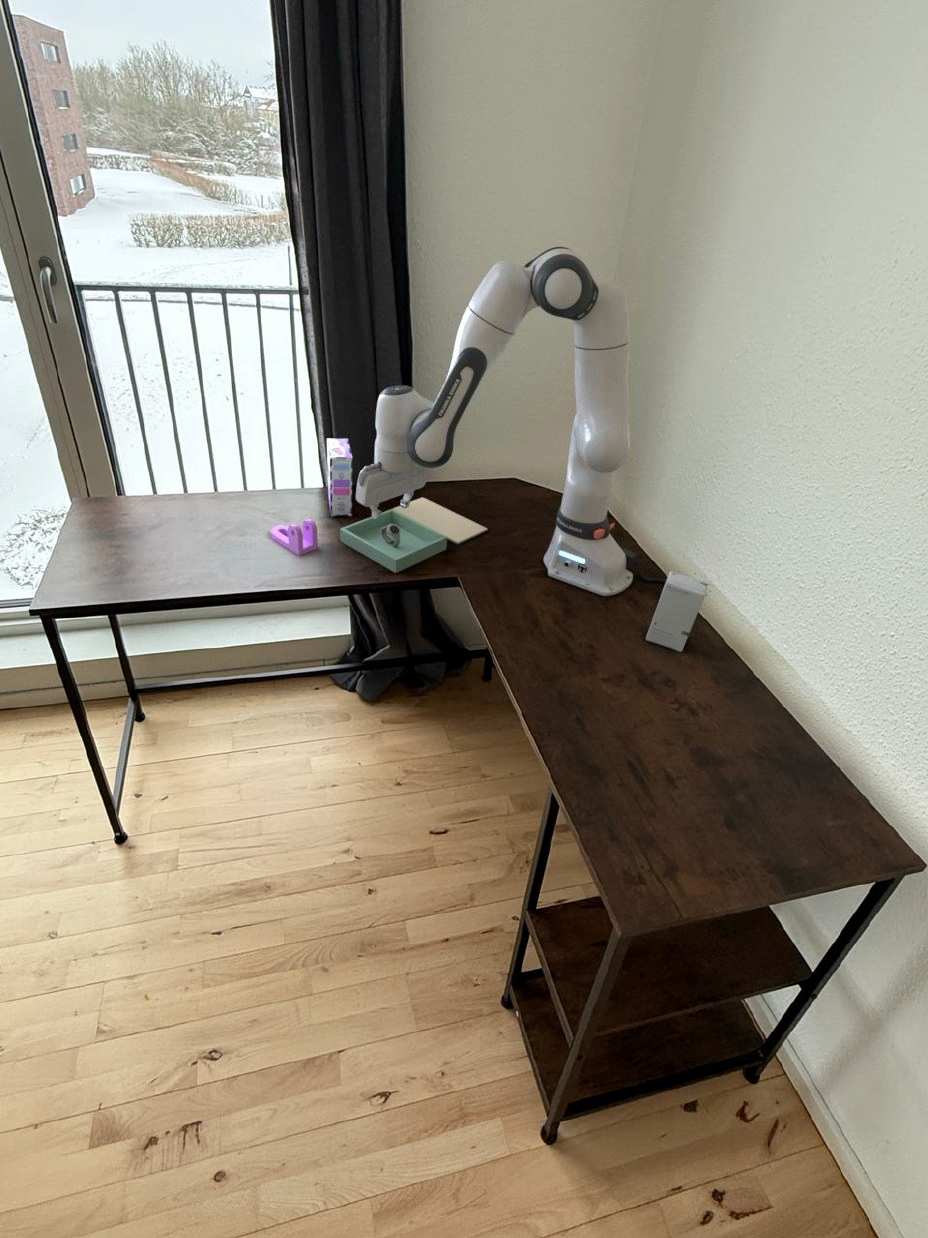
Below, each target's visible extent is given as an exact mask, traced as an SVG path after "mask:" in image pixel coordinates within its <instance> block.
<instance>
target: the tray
mask: <svg viewBox="0 0 928 1238" xmlns="http://www.w3.org/2000/svg"><path fill="white" fill-rule="evenodd" d="M390 524H394V525H396V526H397V527H398V528H399V529H400V544H399V545H397V546H394V547H392V546H391V545H389V544H387V543H386V542H385V540H384V539H383V537H382V534H381V530H382V528H384V527H386V526H387V525H390ZM386 532H387V535H388V536H389V537H390V538H391V539H392V540H393V541H394V538H393V537H392V536H391V535H389V533H388V531H387V529H386ZM339 537H340V539H339V541H340V542H341V543H342V544H345V545H346V546H348V547H349V548H351V549H353V550H355V551H356V552H358V553H360V554H362V555H363V556H365V557H367V558H368V559H370V560H372V561H374V562H375V563H377V564H379V565H381V566H383V567H384V568H386V569H388V570H390V571H391V572H393V573H394V574H397V573H399V572H401V571H403V570H405V569H407V568H410V567H413V566H414V565H416V564H418V563H421V562H423V561H424V560H427V559H429V558H431V557H434V556H436V555H437V554H440V553H442V552H443V551H446V550H447V545H448V539H447V537H446V536H444V535H442V534H440V533H438V532H436V531H434V530H432V529H430V528H428V527H426V526H424V525H422V524H420V523H418V522H417V521H415V520H413V519H411V518H409V517H407V516H405V515H403V514H401V513H399V512H397V511H395V510H393V508H391V509H388V510H386V511H383V512H382V513H381V518H378V519H374V518H373V517H372V516H370V517H367V518H364V519H362V520H359V521H357V522H354V523H351V524H348V525H346V526H343V527H341V528H340V530H339Z"/></svg>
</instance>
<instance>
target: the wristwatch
mask: <svg viewBox="0 0 928 1238" xmlns="http://www.w3.org/2000/svg"><path fill="white" fill-rule="evenodd" d="M386 529H387V531H388V533H389V535H391V536H392V537H393V538H394V541H393V540H392V539H391V538H390V537H389V536H388V535H387V532H386ZM381 534H382V537H383V539H384V540H385V542H386V543H387V544H389V545H391V546H392V547H394V546H397V545H399V544H400V529H399V528H398V527H397V526H396V525H394V524H390V525H387V526H386V527H384V528H382V530H381Z"/></svg>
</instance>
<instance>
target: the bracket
mask: <svg viewBox="0 0 928 1238" xmlns="http://www.w3.org/2000/svg"><path fill="white" fill-rule="evenodd" d="M270 537H271V539H273V540H274V541H275V542H277V543H279V544H280V545H282V547H285V549H288V550H289V551H291V552H292V553H294V554H296V555H297V556H302V555H304V554H307V553H309V552H312V551H315V550H317V549H318V548H319V547H318V546H319V545H318V542H319V541H318V540H319V539H318V526H317V524H316V522H315V521H314V520H313V519H312V518H309V519H305V520H303V522H302V528H301V526H300V525H298V524H297V523H294V524H291V525H287V524H285V525H284V524H279V525H276V526H273V527H272V528H270Z"/></svg>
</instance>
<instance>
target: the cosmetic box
mask: <svg viewBox="0 0 928 1238" xmlns="http://www.w3.org/2000/svg"><path fill="white" fill-rule="evenodd" d="M667 575H668V576H667V578H666V583H665V584H664V586H663V589H662V591H661V594H660V597H659V600H658V603H657V606H656V609H655V612H654V614H653V617H652V620H651V622H650V625H649V628H648V630H647V633H646V637H645V641H647V642H649V643H653V644H657V645H659V646H663V647H666V648H669V649H672V650H675V651H676V652H680V653H682V652H683V651H684V647H685V645H686V643H687V640H688V638H689V635H690V634H691V631H692V629H693V626H694V623H695V621H696V619H697V616H698V614H699V611H700V609H701V606H702V604H703V601H704V600H705V596H706V592H707V589H708V586H709V583H708V582H705V581H701V580H698V579H695V578H694V577H691V576H688V575H683V574H680V573H677V572H674V571H669V573H668V574H667Z"/></svg>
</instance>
